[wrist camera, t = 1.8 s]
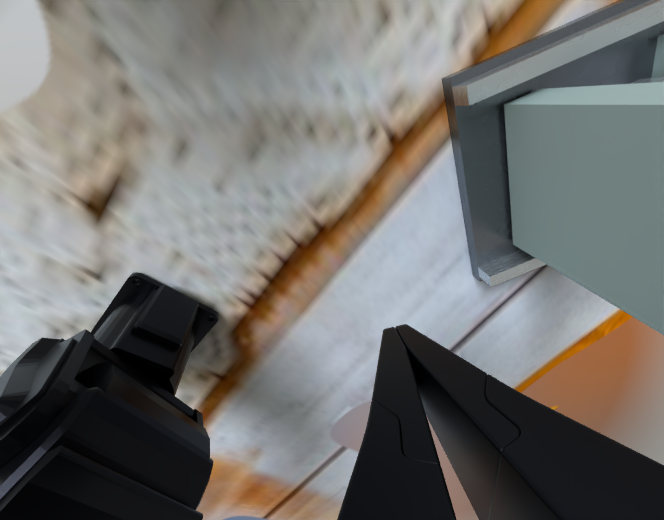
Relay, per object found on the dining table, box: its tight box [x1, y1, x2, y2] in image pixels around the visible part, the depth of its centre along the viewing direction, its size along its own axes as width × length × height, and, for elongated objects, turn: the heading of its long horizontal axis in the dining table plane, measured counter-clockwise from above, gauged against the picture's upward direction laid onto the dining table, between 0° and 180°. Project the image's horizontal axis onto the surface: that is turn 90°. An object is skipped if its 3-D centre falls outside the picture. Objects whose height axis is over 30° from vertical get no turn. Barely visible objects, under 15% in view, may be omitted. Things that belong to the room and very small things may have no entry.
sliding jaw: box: [504, 82, 664, 335], centre depth 15 cm, size 2×10×10 cm, turn 22°
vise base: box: [442, 0, 664, 287], centre depth 19 cm, size 16×15×2 cm
